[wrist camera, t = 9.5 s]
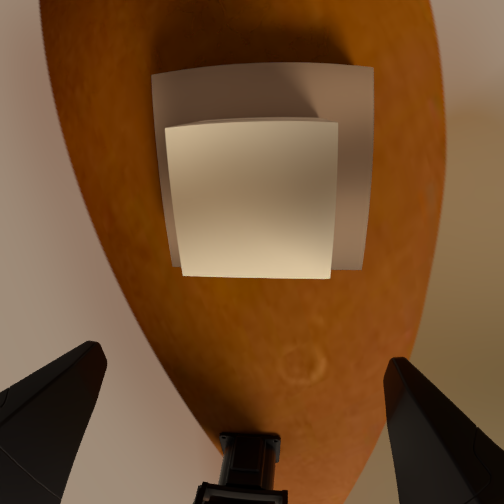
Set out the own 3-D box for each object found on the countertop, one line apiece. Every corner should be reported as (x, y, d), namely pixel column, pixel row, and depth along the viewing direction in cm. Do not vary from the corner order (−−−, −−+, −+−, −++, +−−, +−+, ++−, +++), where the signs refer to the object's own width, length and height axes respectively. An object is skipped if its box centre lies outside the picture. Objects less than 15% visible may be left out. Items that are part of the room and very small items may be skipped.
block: (316, 223, 14) (329, 278, 10) (213, 223, 15) (183, 275, 11) (319, 117, 12) (338, 122, 8) (205, 120, 13) (164, 127, 8)
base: (351, 245, 18) (361, 269, 15) (187, 243, 19) (172, 266, 16) (358, 74, 14) (373, 67, 11) (173, 79, 15) (151, 75, 12)
